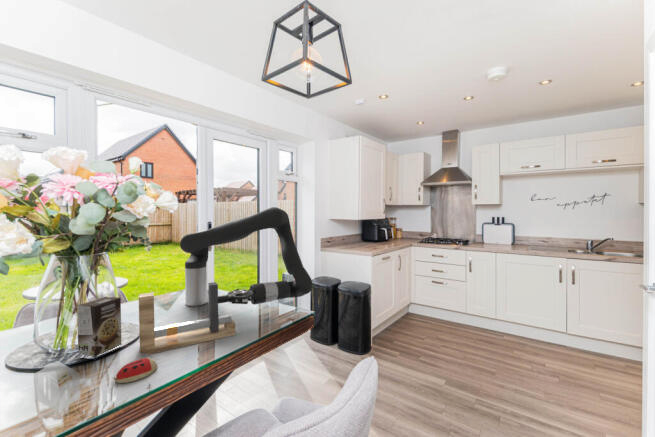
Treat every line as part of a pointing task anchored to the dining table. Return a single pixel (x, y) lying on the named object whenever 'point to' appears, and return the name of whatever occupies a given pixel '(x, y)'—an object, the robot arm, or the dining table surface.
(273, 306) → the dining table surface
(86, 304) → the coffee box
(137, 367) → the ladybug figurine
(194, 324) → the silver metal bar
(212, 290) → the dark gray slab
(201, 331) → the wooden track with post
